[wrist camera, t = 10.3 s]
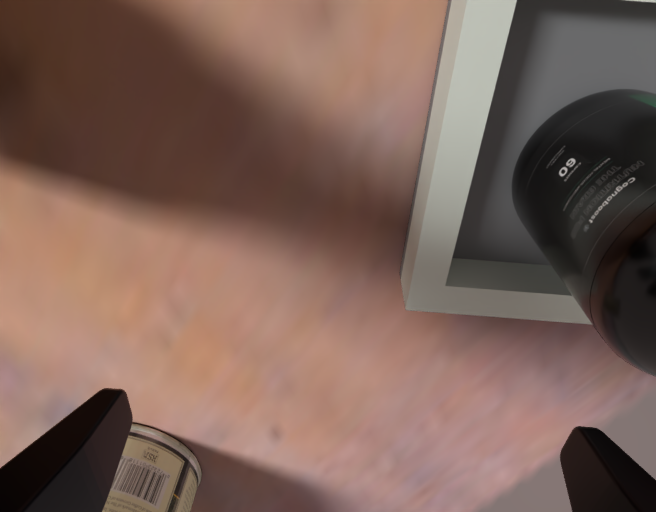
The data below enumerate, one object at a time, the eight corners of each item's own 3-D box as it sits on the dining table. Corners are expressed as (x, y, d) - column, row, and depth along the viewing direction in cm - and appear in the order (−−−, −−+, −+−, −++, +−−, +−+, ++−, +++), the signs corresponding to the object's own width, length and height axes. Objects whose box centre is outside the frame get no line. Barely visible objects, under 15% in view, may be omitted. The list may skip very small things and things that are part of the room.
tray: (399, 272, 22) (405, 310, 20) (459, -64, 15) (481, -73, 12) (673, 293, 22) (714, 333, 20) (870, -35, 15) (977, -38, 12)
